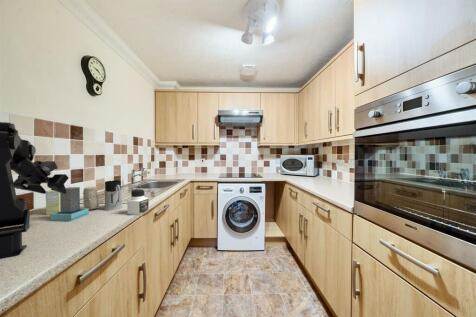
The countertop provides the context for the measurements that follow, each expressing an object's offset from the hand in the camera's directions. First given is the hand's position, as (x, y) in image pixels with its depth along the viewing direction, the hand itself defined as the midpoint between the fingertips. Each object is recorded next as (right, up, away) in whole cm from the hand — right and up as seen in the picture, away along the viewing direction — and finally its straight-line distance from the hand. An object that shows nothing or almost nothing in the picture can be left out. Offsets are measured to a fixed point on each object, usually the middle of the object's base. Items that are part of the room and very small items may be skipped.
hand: (55, 193), depth 87 cm
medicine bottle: (+28, -13, +16) cm, 35 cm away
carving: (0, -13, +21) cm, 25 cm away
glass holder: (+12, -13, +22) cm, 28 cm away
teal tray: (0, -13, +8) cm, 15 cm away
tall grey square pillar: (0, -12, +7) cm, 14 cm away
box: (-14, -13, +17) cm, 26 cm away
